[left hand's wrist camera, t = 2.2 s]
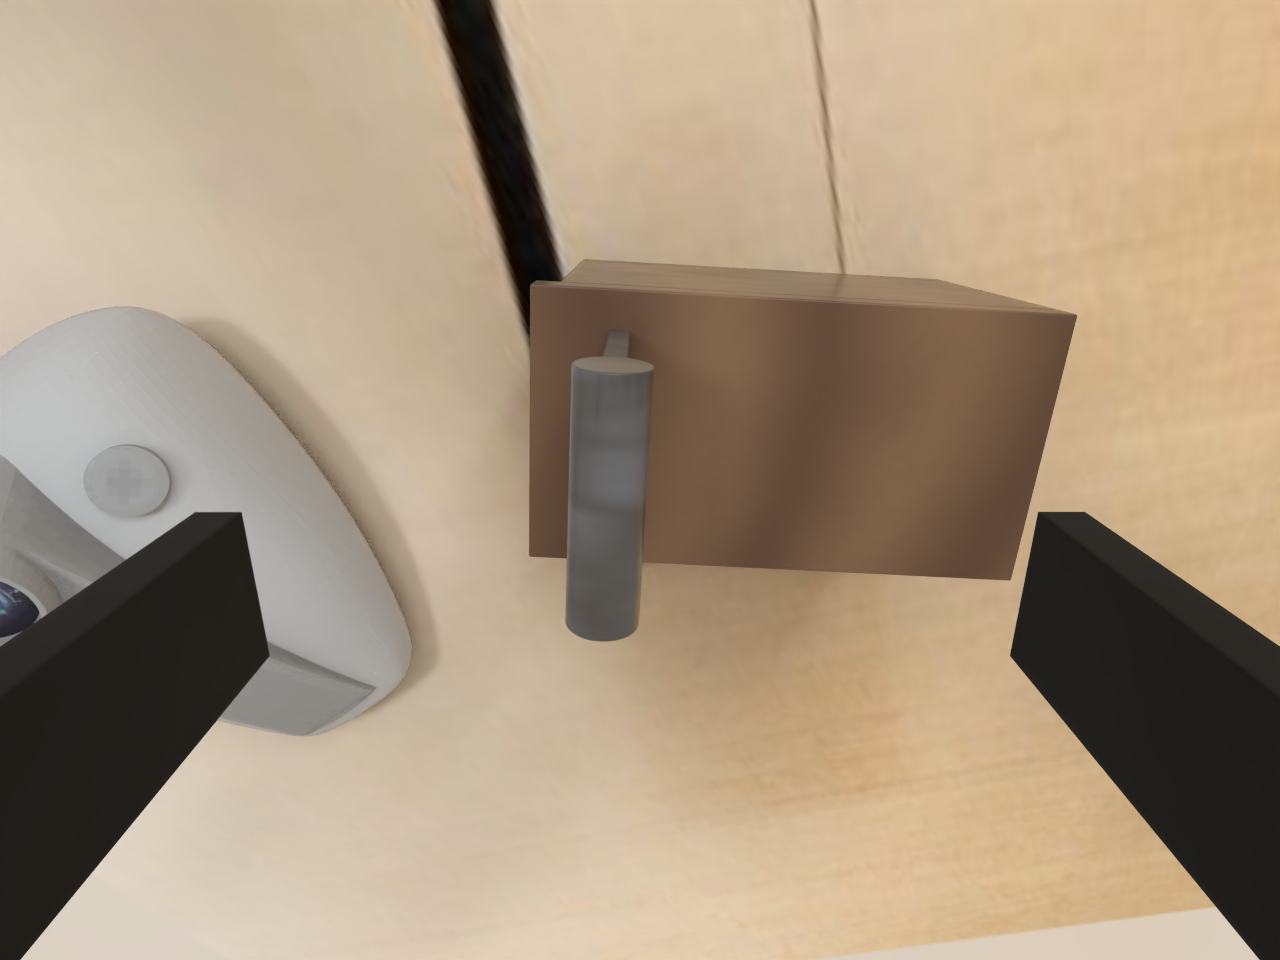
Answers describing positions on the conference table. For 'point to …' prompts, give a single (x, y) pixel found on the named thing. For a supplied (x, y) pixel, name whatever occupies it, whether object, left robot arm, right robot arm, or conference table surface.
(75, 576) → the projector
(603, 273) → the chest
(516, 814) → the conference table surface
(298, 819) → the conference table surface
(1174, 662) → the left robot arm
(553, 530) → the lid
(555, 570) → the conference table surface
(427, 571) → the conference table surface
